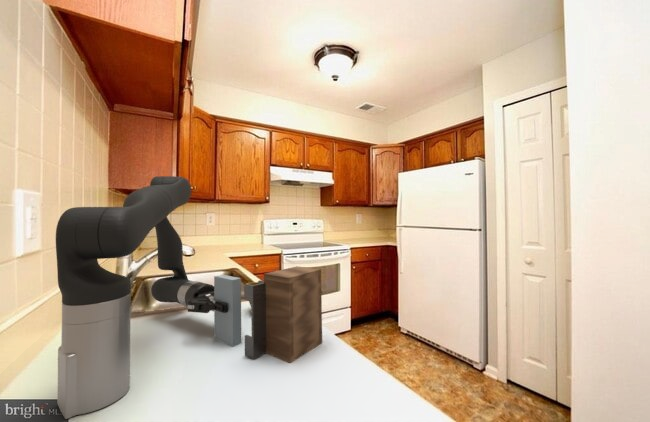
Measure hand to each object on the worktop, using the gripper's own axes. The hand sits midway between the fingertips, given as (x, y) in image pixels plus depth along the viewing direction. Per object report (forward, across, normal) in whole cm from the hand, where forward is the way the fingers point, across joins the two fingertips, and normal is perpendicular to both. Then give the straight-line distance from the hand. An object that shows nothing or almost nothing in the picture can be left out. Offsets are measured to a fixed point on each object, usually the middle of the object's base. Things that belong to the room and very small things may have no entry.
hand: (233, 306), depth 67 cm
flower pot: (-12, +19, +9) cm, 24 cm away
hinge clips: (+9, 0, +9) cm, 13 cm away
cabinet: (+14, +7, +9) cm, 18 cm away
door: (-2, 0, +9) cm, 9 cm away
